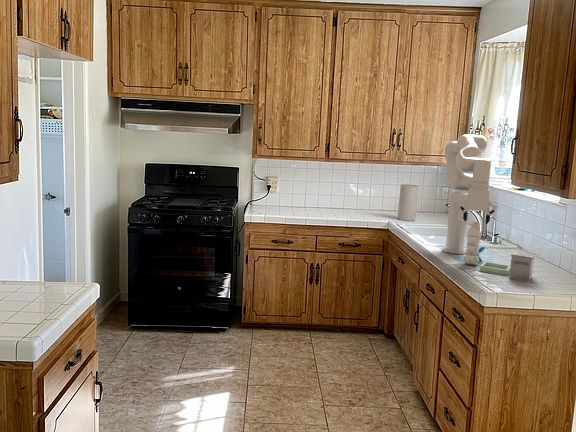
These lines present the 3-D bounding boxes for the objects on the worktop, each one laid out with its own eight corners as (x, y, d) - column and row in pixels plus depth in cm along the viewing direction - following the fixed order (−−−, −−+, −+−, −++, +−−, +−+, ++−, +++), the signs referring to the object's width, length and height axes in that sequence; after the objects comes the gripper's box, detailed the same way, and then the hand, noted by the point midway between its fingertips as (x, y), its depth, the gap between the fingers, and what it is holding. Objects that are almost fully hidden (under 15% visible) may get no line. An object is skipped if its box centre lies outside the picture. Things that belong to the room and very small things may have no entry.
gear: (474, 254, 280) (487, 243, 273) (481, 264, 277) (494, 253, 270) (460, 259, 273) (473, 248, 266) (467, 269, 271) (480, 258, 264)
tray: (484, 266, 261) (485, 261, 261) (510, 270, 255) (511, 265, 255) (479, 270, 251) (480, 265, 251) (506, 275, 245) (507, 270, 245)
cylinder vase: (417, 221, 394) (420, 186, 391) (399, 220, 394) (402, 185, 391) (412, 219, 407) (416, 185, 403) (395, 218, 406) (399, 183, 403)
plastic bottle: (470, 266, 259) (475, 224, 256) (460, 263, 265) (465, 221, 262) (481, 266, 262) (486, 224, 259) (471, 262, 268) (475, 221, 265)
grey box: (511, 273, 249) (514, 250, 248) (532, 277, 245) (536, 253, 243) (507, 278, 240) (510, 254, 238) (529, 282, 236) (532, 257, 234)
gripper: (459, 184, 259) (455, 220, 261) (498, 187, 250) (493, 225, 253) (462, 183, 265) (459, 219, 267) (500, 187, 257) (496, 223, 259)
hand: (475, 222), depth 260 cm, fingers open, 9 cm apart
